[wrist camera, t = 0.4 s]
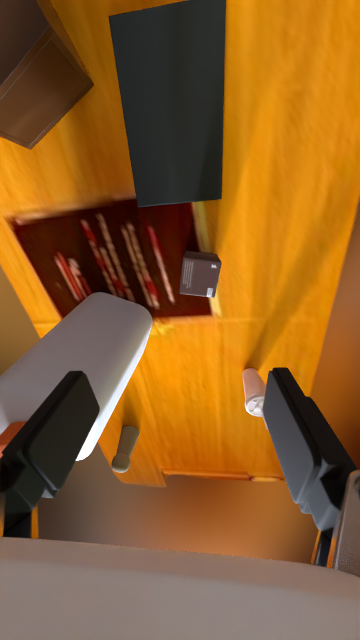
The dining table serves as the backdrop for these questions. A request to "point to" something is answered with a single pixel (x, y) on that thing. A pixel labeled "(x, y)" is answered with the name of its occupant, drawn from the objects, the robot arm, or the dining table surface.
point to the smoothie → (254, 392)
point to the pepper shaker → (125, 448)
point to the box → (200, 274)
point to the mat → (173, 98)
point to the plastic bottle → (77, 362)
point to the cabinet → (36, 71)
